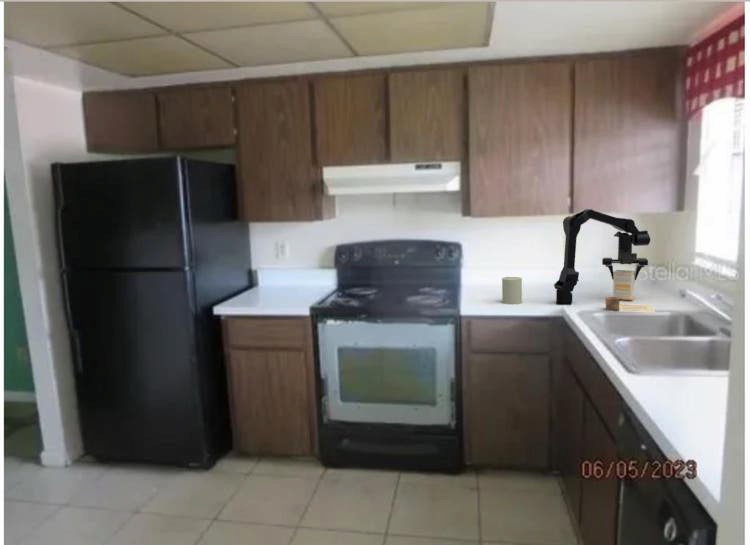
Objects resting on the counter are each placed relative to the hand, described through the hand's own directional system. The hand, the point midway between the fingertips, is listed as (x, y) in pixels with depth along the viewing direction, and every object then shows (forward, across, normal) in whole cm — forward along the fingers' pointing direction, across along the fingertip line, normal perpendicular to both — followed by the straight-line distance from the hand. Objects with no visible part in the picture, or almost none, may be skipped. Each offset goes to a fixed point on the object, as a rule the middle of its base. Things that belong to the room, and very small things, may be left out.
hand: (624, 280), depth 244 cm
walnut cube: (+9, -6, -22) cm, 25 cm away
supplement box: (+9, 0, 0) cm, 9 cm away
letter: (+9, +3, -18) cm, 20 cm away
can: (+10, -49, -13) cm, 52 cm away
